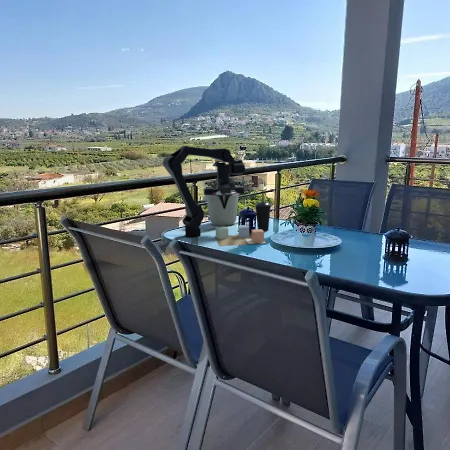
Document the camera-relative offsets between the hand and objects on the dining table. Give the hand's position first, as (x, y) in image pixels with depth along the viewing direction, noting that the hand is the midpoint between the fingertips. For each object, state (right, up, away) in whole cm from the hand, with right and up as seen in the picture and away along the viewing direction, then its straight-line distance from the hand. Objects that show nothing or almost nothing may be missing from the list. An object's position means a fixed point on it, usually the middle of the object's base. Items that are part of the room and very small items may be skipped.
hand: (224, 208), depth 192 cm
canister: (-1, -7, +23) cm, 24 cm away
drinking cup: (+19, -11, +2) cm, 22 cm away
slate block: (+9, -13, -8) cm, 18 cm away
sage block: (-1, -13, -10) cm, 16 cm away
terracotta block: (+14, -14, -17) cm, 27 cm away
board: (+7, -15, -14) cm, 22 cm away
